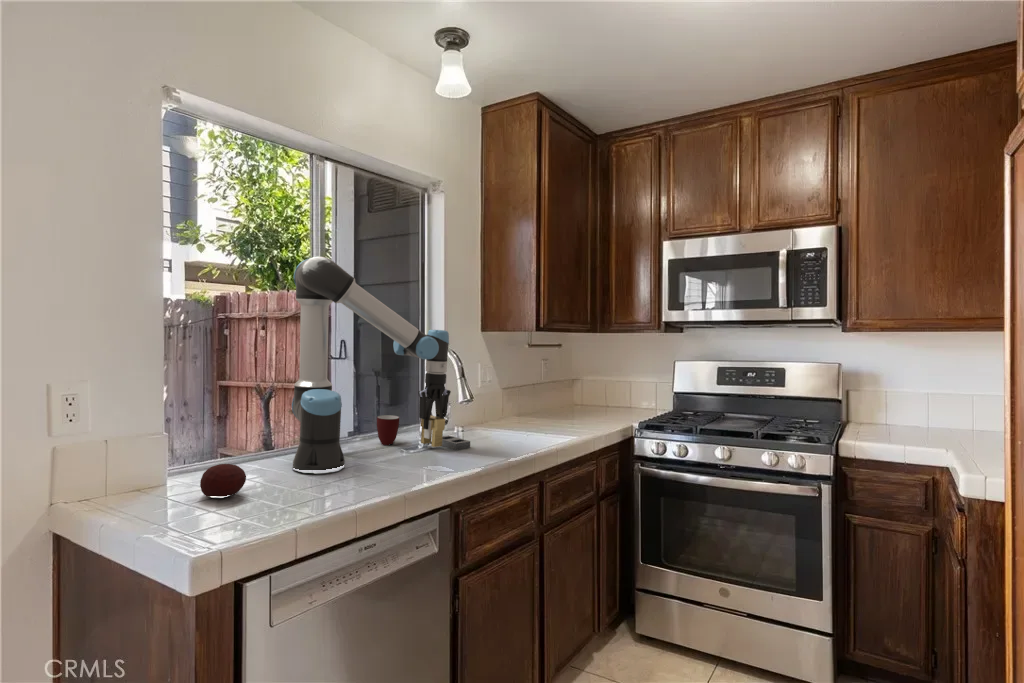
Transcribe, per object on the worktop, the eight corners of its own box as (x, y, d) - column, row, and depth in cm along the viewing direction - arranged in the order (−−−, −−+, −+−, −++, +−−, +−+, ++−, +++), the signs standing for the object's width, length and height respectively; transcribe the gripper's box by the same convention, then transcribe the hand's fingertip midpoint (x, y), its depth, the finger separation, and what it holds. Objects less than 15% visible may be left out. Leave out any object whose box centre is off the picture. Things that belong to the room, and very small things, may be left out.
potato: (213, 488, 153) (214, 457, 152) (255, 491, 153) (256, 460, 152) (187, 502, 141) (188, 469, 141) (232, 505, 141) (234, 471, 141)
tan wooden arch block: (435, 447, 204) (437, 419, 204) (419, 442, 211) (421, 415, 210) (443, 446, 207) (445, 418, 207) (426, 441, 213) (428, 414, 213)
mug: (371, 440, 217) (372, 414, 217) (392, 439, 221) (394, 413, 221) (378, 447, 208) (380, 419, 208) (400, 445, 212) (402, 418, 211)
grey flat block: (455, 450, 210) (456, 443, 209) (434, 444, 218) (434, 437, 217) (470, 447, 215) (470, 441, 215) (448, 441, 223) (448, 435, 223)
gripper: (424, 374, 199) (420, 441, 200) (460, 373, 211) (455, 437, 212) (411, 372, 204) (406, 437, 205) (446, 371, 216) (442, 433, 217)
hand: (431, 437), depth 209 cm, fingers closed on tan wooden arch block, 3 cm apart
